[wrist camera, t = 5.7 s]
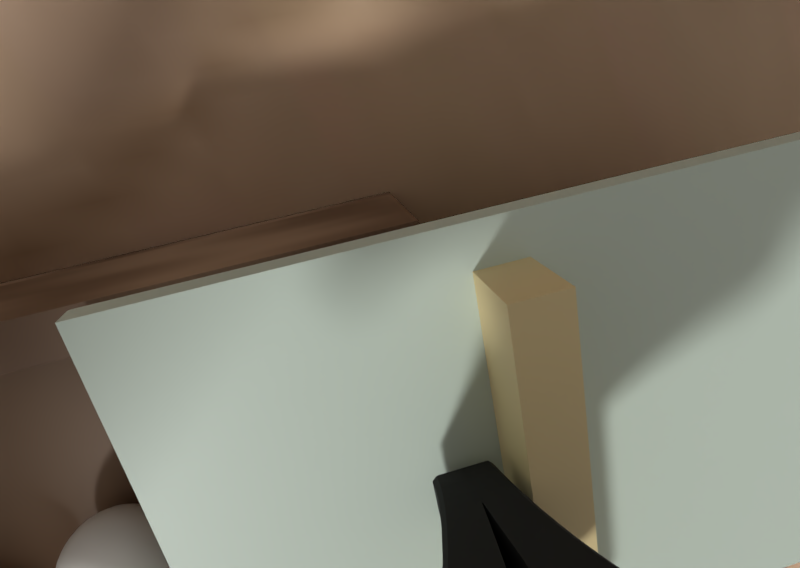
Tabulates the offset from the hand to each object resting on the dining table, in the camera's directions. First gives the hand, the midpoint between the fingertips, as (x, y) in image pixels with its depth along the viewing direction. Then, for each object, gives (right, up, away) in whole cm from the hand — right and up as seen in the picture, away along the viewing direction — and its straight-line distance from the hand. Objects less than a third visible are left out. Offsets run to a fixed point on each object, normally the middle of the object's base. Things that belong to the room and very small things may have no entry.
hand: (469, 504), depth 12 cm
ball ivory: (-9, -3, +2) cm, 9 cm away
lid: (+1, +1, +1) cm, 2 cm away
